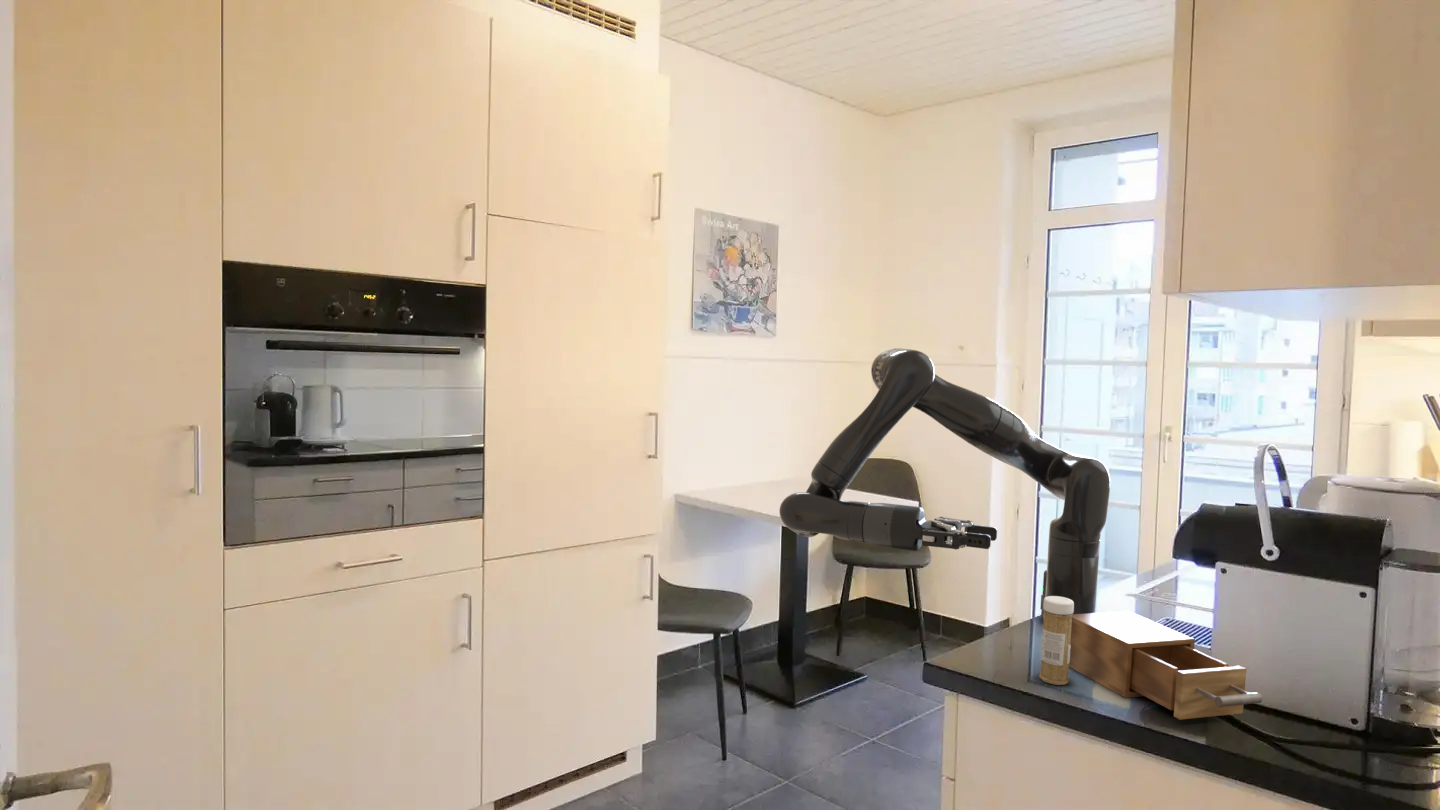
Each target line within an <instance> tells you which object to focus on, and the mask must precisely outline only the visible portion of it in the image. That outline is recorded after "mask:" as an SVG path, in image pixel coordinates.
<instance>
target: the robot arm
mask: <svg viewBox="0 0 1440 810" xmlns="http://www.w3.org/2000/svg"><path fill="white" fill-rule="evenodd" d="M870 375H871V379H872V382H873V384H874V385H875V387H876V388H877V389H878V390H877V392H876V394H875V396H874V397H873V398H872V400H871V401H870V403H868V405H867V406H866V407H865V408H864V410H863V411H862V412H861V413H860V414H859V415H858V416H857V417H856V418H855V419H854V420H852V421H851V422H850V423H849V424H848V425H847V426H846V427H845V428H844V429H842V431H841V432H840V433H838V435H836V437H834V439H832V441H831V443H830V444H829V445H828V447H827V448H826V449H825V451H824V452H823V454H822V455H821V456H820V458H819V459H818V460H817V462H816V463H815V465H814V466H813V468H812V470H811V473H810V477H811V481H810V482H811V483H810V484H809V486H808V488H807V490H806V491H803V492H802V491H801V492H800V491H799V492H793V493H791V494H789V495H787V496H786V497H785V498H784V499H783V500H782V502H781V503H780V506H779V517H780V520H781V522H782V524H783V525H784V526H785V527H786V528H788V529H789V530H790V531H792V532H794V533H795V534H797V535H799V536H800V537H802V538H813V537H815V536H817V535H819V534H822V535H830V536H833V537H835V538H838V539H840V540H844V541H849V542H857V543H864V544H870V545H873V546H877V547H883V548H891V549H899V550H905V551H913V552H918V551H920V549H921V548H922V546H924V547H934V548H941V549H942V548H943V549H952V550H960V549H964V548H966V547H968V548H975V549H983V550H989V549H990V548H991V546H992V545H991V544H992V543H991V542H995V541H996V540H997V538H998V528H997V527H995V526H988V525H981V524H980V525H979V524H975V523H973V521H971V520H969V519H968V520H966V519H958V518H950V517H944V516H938V517H934V519H933V520H931V519H930V520H928V519H926V518H925V517H926V516H925V515H926V514H925V510H924V509H923V507H922V506H914V505H905V504H898V503H889V502H888V503H887V502H865V501H857V500H843V499H841V498H842V497H843V494H844V493H845V491H846V490H847V489H848V487H850V484H851V483H852V482H853V480H854V479H855V477H856V476H857V475H858V473H859V472H860V470H861V469H862V467H864V465H865V463H866V462H867V461H868V459H869V457H871V455H872V454H873V452H874V451H875V450H876V448H877V447H878V446H879V445H880V444H881V442H882V441H884V438H886V436H887V435H888V434H889V433H890V432H891V431H892V430H893V428H894V427H895V426H896V425H897V424H898V423H899V421H900V420H901V419H902V418H903V417H904V416H905V415H906V414H907V413H908V412H909V411H910V410H911V409H912V408H914V409H916V410H918V411H920V412H922V413H924V414H925V415H926V416H927V415H928V417H930V418H932V420H934V421H936V422H937V423H938V424H939V425H941V426H943V427H944V428H945V429H946V430H948V431H950V432H951V433H953V434H954V435H956V436H957V437H959V438H960V439H962V440H963V441H965V442H967V444H969V445H971V446H973V447H974V448H975V449H978V450H979V451H981V452H983V453H985V454H987V455H988V456H990V457H992V458H994V459H996V460H997V461H1000V462H1002V463H1004V464H1006V465H1009V466H1011V467H1013V468H1015V469H1018V470H1020V471H1021V472H1023V473H1024V474H1026V475H1027V476H1029V477H1030V478H1031V479H1032V480H1034V481H1035V482H1037V483H1038V484H1039V485H1040V486H1042V487H1043V488H1044V489H1046V491H1048V492H1049V493H1051V494H1052V495H1054V496H1055V497H1057V498H1059V499H1061V500H1064V502H1063V509H1062V514H1061V516H1060V517H1056V518H1053V519H1051V521H1050V523H1049V530H1048V547H1047V562H1046V569H1045V570H1044V571H1043V579H1042V588H1041V593H1042V594H1040V611H1041V613H1040V618H1041V619H1042V621H1043V622H1044V609H1043V604H1044V598H1045V597H1048V596H1059V597H1065V598H1068V599H1071V600H1072V601H1073V602H1074V612H1073V613H1072V614H1088V613H1096V606H1097V592H1098V591H1097V590H1098V577H1099V561H1100V549H1101V547H1100V546H1101V536H1102V535H1101V533H1102V532H1103V530H1104V528H1105V526H1106V522H1107V516H1108V510H1109V509H1108V508H1109V499H1110V492H1111V491H1110V490H1111V478H1110V477H1111V476H1110V473H1109V469H1108V467H1107V466H1106V465H1105V463H1103V461H1101V460H1099V459H1097V458H1094V457H1090V456H1086V455H1081V454H1077V453H1072V452H1069V451H1066V450H1063V449H1061V448H1059V447H1057V446H1055V445H1053V444H1051V443H1049V442H1047V441H1045V440H1044V439H1042V438H1041V437H1039V436H1038V435H1037V434H1035V432H1034V431H1033V430H1032V429H1031V427H1029V425H1028V424H1027V423H1026V422H1025V421H1024V420H1023V419H1022V418H1021V417H1020V416H1019V415H1017V414H1016V413H1015V412H1013V411H1011V410H1010V409H1008V408H1007V407H1005V406H1003V405H1002V404H1001V403H999V402H997V401H995V400H993V399H991V398H989V397H987V396H985V395H983V394H980V393H978V392H976V391H973V390H970V389H968V388H965V387H963V386H960V385H957V384H954V383H952V382H949V381H947V380H946V379H943V378H942V377H941V376H939V375H937V374H936V373H935V366H934V363H933V361H932V359H931V358H930V357H929V356H928V355H927V354H926V353H924V352H922V351H919V350H916V349H911V348H900V347H899V348H898V347H896V348H890V349H887V350H884V351H883V352H881V353H879V354H878V355H877V356H876V357H874V360H873V362H872V364H871V368H870ZM962 528H964V530H962Z"/></svg>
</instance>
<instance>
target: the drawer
mask: <svg viewBox="0 0 1440 810" xmlns="http://www.w3.org/2000/svg"><path fill="white" fill-rule="evenodd" d="M1246 679H1247V668H1246V667H1244V666H1241V665H1232V666H1231V665H1230V666H1229V663H1227V662H1225V661H1223V660H1220V659H1218V658H1216V657H1213V656H1211V655H1208V654H1207V653H1203V652H1202V651H1199V650H1197V649H1195V648H1194V649H1193V648H1190V647H1188V646H1186V645H1184V644H1183V645H1169V646H1156V647H1142V648H1132V661H1131V675H1130V689H1132V690H1134V691H1136V692H1138V693H1140V694H1141V695H1143V696H1142V697H1145V698H1147V699H1149V700H1150V701H1153V702H1154V703H1156V704H1158V705H1160V706H1162V707H1164V708H1166V709H1168V710H1170V711H1173V717H1174V718H1175V719H1178V720H1179V721H1180V720H1181V721H1182V720H1191V719H1200V718H1209V717H1210V718H1211V717H1219V716H1220V717H1221V716H1231V715H1239V714H1244V706H1245V705H1254V704H1261V703H1262V702H1263V697H1262V694H1260V693H1259V692H1249V691H1247V690H1246V681H1247V680H1246Z"/></svg>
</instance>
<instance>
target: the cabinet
mask: <svg viewBox="0 0 1440 810" xmlns="http://www.w3.org/2000/svg"><path fill="white" fill-rule="evenodd" d="M1195 643H1196V638H1194V637H1191V636H1189V635H1187V634H1184V633H1183V632H1179V631H1177V630H1175V629H1173V628H1171V627H1168V626H1166V625H1163V624H1160V623H1158V622H1155V621H1154V620H1151V619H1149V618H1147V617H1144V616H1142V615H1139V614H1137V613H1134V612H1132V611H1130V610H1123V611H1121V610H1120V611H1106V612H1095V613H1088V614H1073V615H1072V626H1071V642H1070V644H1071V649H1070V663H1069V669H1072V670H1074V671H1076V672H1078V673H1079V674H1081V675H1083V676H1085V677H1086V678H1088V679H1090V680H1092V681H1094V682H1095V683H1098V684H1100V685H1101V686H1103V687H1105V688H1106V689H1108V690H1110V691H1111V692H1114V693H1116V694H1117V695H1119V696H1120V697H1123V698H1125V699H1127V698H1137V697H1144V696H1143V695H1141V694H1140V693H1138V692H1136V691H1134V690H1132V689H1130V675H1131V661H1132V648H1142V647H1156V646H1169V645H1183V644H1184V645H1186V646H1188V647H1190V648H1193V649H1195V645H1196V644H1195Z"/></svg>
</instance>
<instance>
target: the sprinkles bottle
mask: <svg viewBox="0 0 1440 810" xmlns="http://www.w3.org/2000/svg"><path fill="white" fill-rule="evenodd" d="M1043 609H1044V621H1043V624H1042V632H1041V633H1042V635H1041V648H1040V649H1041V650H1040V673H1039V679H1040V680H1041V681H1042V682H1044V683H1046V684H1049V685H1054V686H1065V685H1067V684H1068V683H1069V682H1070V677H1069V674H1070V673H1069V672H1070V667H1069V663H1070V649H1071V644H1070V642H1071V626H1072V615H1073V614H1072V613H1073V612H1074V602H1073V601H1072V600H1071V599H1068V598H1065V597H1059V596H1048V597H1045V598H1044V604H1043Z"/></svg>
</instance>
